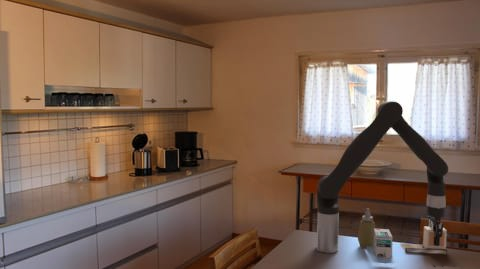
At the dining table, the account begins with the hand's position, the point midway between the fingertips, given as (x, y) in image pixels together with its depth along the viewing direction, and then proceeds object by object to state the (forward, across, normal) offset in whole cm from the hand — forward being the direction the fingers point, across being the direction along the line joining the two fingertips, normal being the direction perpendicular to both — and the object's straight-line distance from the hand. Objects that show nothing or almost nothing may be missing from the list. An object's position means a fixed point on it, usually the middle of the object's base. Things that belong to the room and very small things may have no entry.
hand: (434, 243), depth 189 cm
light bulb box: (+5, +6, -23) cm, 24 cm away
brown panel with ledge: (+5, -2, -4) cm, 7 cm away
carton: (+2, 0, 0) cm, 2 cm away
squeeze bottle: (+5, -5, -28) cm, 29 cm away
